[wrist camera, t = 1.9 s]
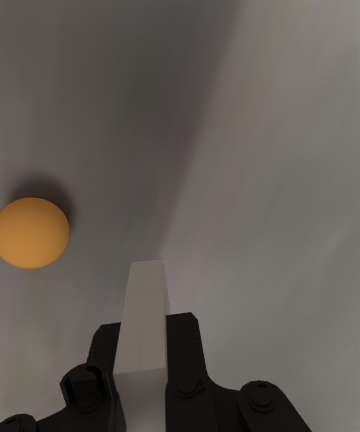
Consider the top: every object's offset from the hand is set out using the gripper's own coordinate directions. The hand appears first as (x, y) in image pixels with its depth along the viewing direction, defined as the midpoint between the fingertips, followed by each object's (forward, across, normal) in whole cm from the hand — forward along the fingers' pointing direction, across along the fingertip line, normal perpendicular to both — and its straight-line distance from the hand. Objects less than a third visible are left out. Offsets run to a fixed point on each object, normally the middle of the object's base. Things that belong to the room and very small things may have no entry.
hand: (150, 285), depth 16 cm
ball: (+11, +10, 0) cm, 14 cm away
